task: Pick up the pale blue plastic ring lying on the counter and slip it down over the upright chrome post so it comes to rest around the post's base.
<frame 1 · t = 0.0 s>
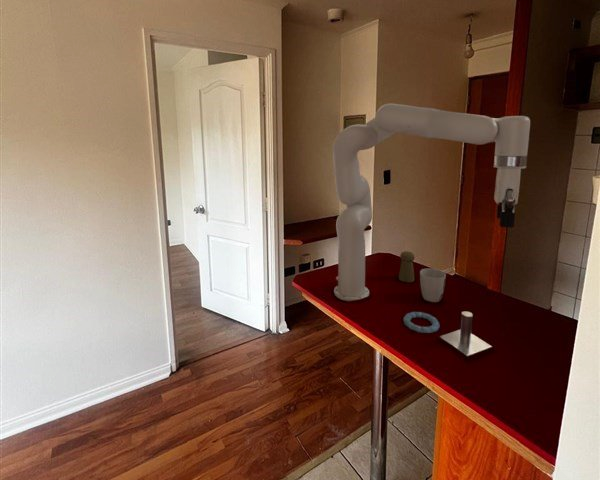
hand: (504, 222, 92), 31 cm above the table, tool pointing down, fingers open, 9 cm apart
post: (464, 345, 88), on the table
cork: (406, 279, 128), on the table
ring: (421, 322, 97), point 1 cm above the table
cup: (431, 301, 111), on the table
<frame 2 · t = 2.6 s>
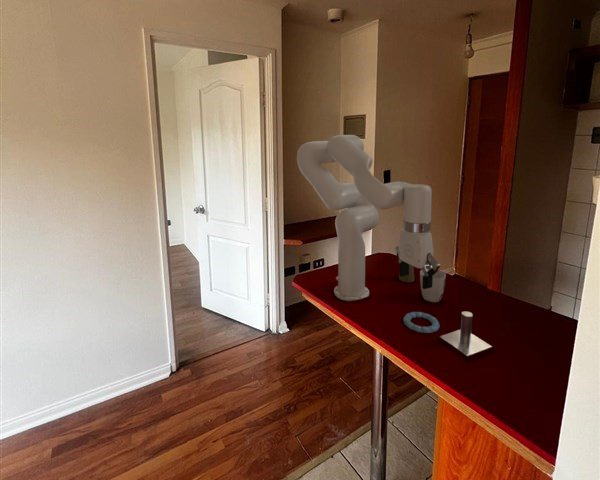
hand: (415, 281, 98), 13 cm above the table, tool pointing down, fingers open, 9 cm apart
nothing on the table moved.
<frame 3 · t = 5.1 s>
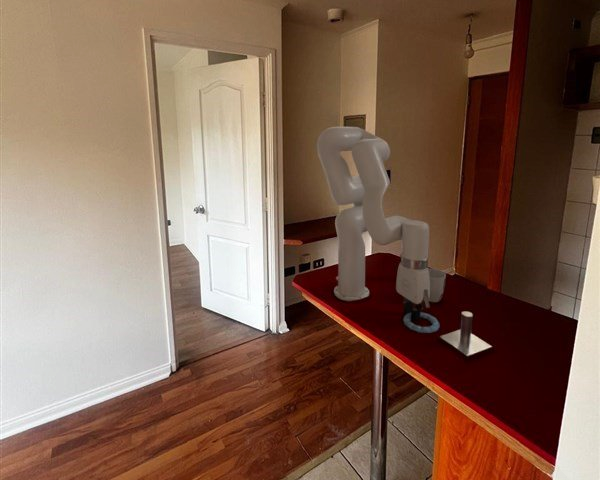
hand: (412, 317, 100), 0 cm above the table, tool pointing down, fingers closed on ring, 2 cm apart
ring: (421, 322, 97), point 1 cm above the table, touching gripper
everything else where it was.
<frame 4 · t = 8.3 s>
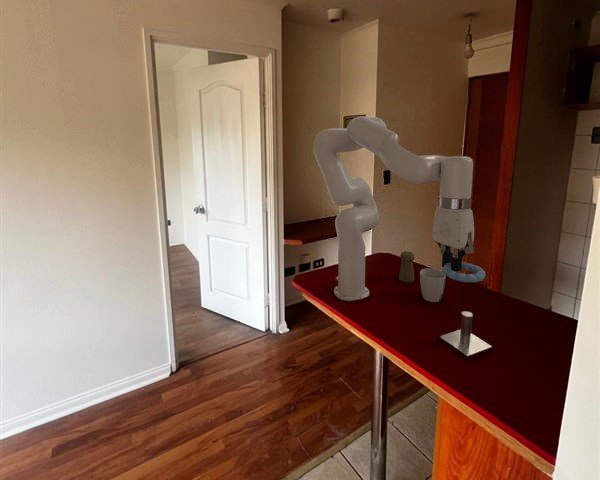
hand: (451, 268, 89), 20 cm above the table, tool pointing down, fingers closed on ring
ring: (463, 271, 85), point 21 cm above the table, touching gripper
everything else where it was.
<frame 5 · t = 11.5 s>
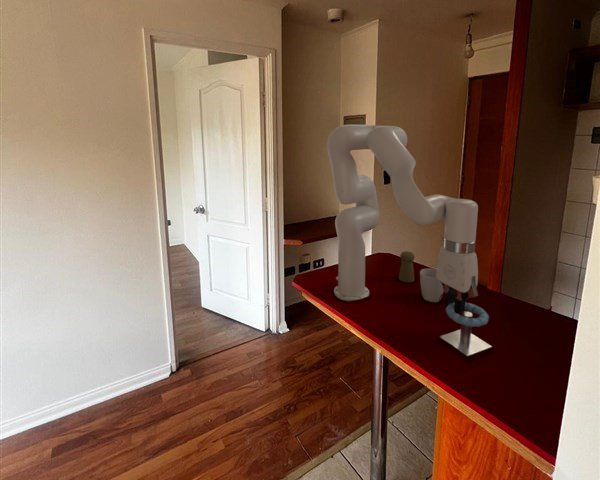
hand: (454, 308, 90), 9 cm above the table, tool pointing down, fingers closed on ring
ring: (466, 313, 86), point 9 cm above the table, touching gripper
everything else where it was.
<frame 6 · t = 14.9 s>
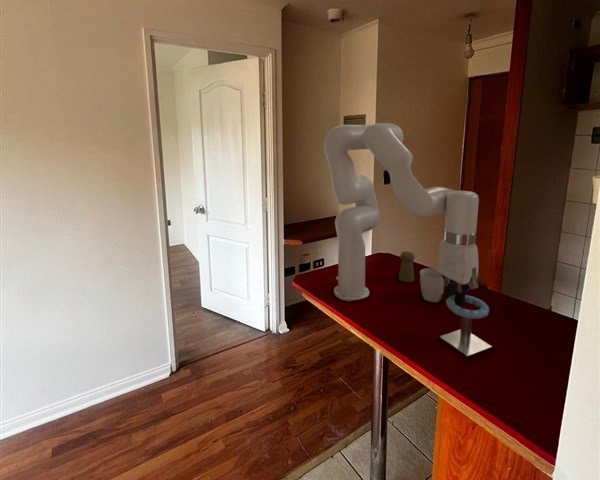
hand: (455, 301, 89), 11 cm above the table, tool pointing down, fingers closed on ring
ring: (467, 305, 86), point 11 cm above the table, touching gripper
everything else where it was.
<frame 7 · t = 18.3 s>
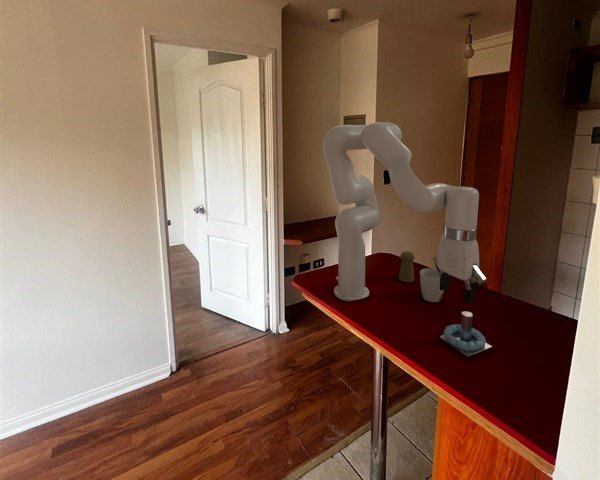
hand: (456, 295, 89), 13 cm above the table, tool pointing down, fingers open, 7 cm apart
ring: (464, 337, 88), point 2 cm above the table, touching post
everything else where it was.
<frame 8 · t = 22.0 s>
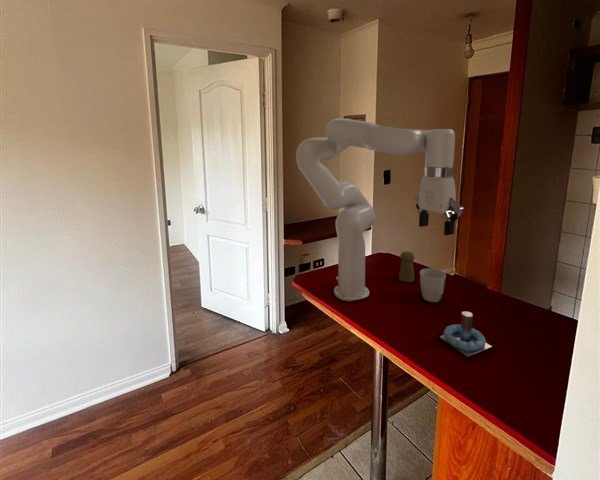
hand: (435, 230, 96), 28 cm above the table, tool pointing down, fingers open, 9 cm apart
nothing on the table moved.
at the end: ring 0.4 cm from the post (horizontally); ring point 2.2 cm above the table; the gripper is holding nothing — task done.
